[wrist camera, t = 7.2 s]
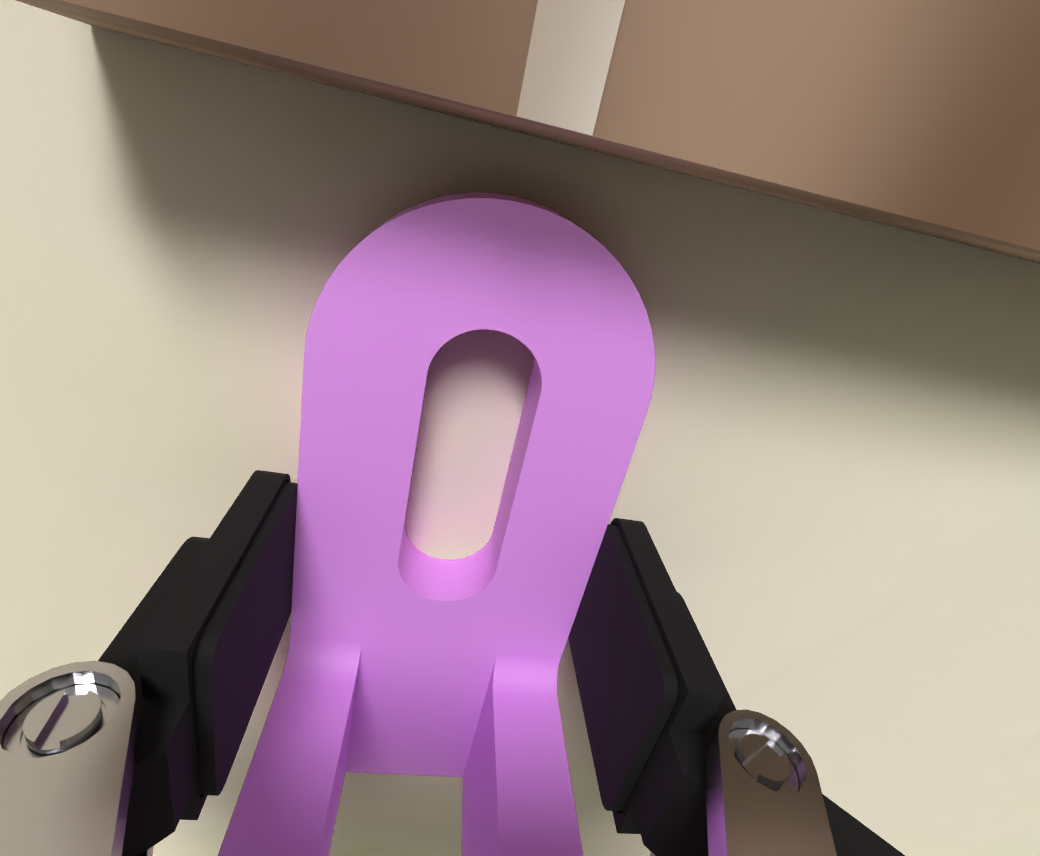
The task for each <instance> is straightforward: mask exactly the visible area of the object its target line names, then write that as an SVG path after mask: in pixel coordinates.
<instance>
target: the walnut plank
mask: <svg viewBox="0 0 1040 856" xmlns="http://www.w3.org/2000/svg"><path fill="white" fill-rule="evenodd" d="M17 1H20V2H23V3H26V4H29V5H32V6H35V7H38V8H41V9H44V10H47V11H50V12H53V13H56V14H59V15H62V16H65V17H68V18H71V19H74V20H77V21H80V22H83V23H86V24H90V25H94V26H98V27H102V28H106V29H110V30H114V31H118V32H122V33H126V34H130V35H134V36H138V37H141V38H145V39H149V40H153V41H157V42H161V43H165V44H169V45H173V46H177V47H181V48H185V49H189V50H193V51H197V52H201V53H205V54H209V55H213V56H217V57H221V58H225V59H229V60H233V61H237V62H241V63H245V64H249V65H253V66H257V67H261V68H265V69H269V70H273V71H277V72H281V73H285V74H289V75H293V76H297V77H301V78H305V79H309V80H313V81H317V82H321V83H325V84H329V85H333V86H337V87H341V88H345V89H349V90H353V91H357V92H361V93H365V94H369V95H373V96H377V97H381V98H385V99H389V100H393V101H396V102H400V103H404V104H408V105H412V106H416V107H420V108H424V109H428V110H432V111H436V112H440V113H444V114H448V115H452V116H456V117H460V118H464V119H468V120H472V121H476V122H480V123H484V124H488V125H492V126H496V127H500V128H504V129H508V130H512V131H516V132H520V133H524V134H528V135H532V136H536V137H540V138H544V139H548V140H552V141H556V142H560V143H564V144H568V145H572V146H576V147H580V148H584V149H588V150H592V151H596V152H600V153H604V154H608V155H612V156H616V157H620V158H624V159H628V160H632V161H636V162H640V163H644V164H648V165H651V166H655V167H659V168H663V169H667V170H671V171H675V172H679V173H683V174H687V175H691V176H695V177H699V178H703V179H707V180H711V181H715V182H719V183H723V184H727V185H731V186H735V187H739V188H743V189H747V190H751V191H755V192H759V193H763V194H767V195H771V196H775V197H779V198H783V199H787V200H791V201H795V202H799V203H803V204H807V205H811V206H815V207H819V208H823V209H827V210H831V211H835V212H839V213H843V214H847V215H851V216H855V217H859V218H863V219H867V220H871V221H875V222H879V223H883V224H887V225H891V226H895V227H899V228H903V229H906V230H910V231H914V232H918V233H922V234H926V235H930V236H934V237H938V238H942V239H946V240H950V241H954V242H958V243H962V244H966V245H970V246H974V247H978V248H982V249H986V250H990V251H994V252H998V253H1002V254H1006V255H1010V256H1014V257H1018V258H1022V259H1026V260H1030V261H1034V262H1038V263H1040V0H17Z"/></svg>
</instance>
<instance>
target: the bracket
mask: <svg viewBox="0 0 1040 856" xmlns="http://www.w3.org/2000/svg"><path fill="white" fill-rule="evenodd" d="M479 329H488V330H496V331H500V332H504V333H507V334H509V335H511V336H513V337H515V338H517V339H518V340H519V341H521V342H522V343H523V344H524V345H526V346H527V347H528V349H529V350H530V351H531V352H532V354H533V355H534V364H533V369H532V373H531V377H530V381H529V385H528V390H527V394H526V398H525V402H524V406H523V410H522V414H521V419H520V423H519V427H518V431H517V435H516V439H515V443H514V448H513V452H512V456H511V460H510V464H509V468H508V472H507V477H506V481H505V485H504V489H503V493H502V497H501V501H500V506H499V510H498V514H497V518H496V522H495V526H494V530H493V534H492V536H491V538H490V540H489V541H488V543H487V544H486V545H485V546H484V547H483V548H482V549H481V550H479V551H478V552H476V553H475V554H473V555H470V556H468V557H465V558H461V559H455V560H444V559H438V558H434V557H431V556H428V555H426V554H424V553H423V552H421V551H420V550H418V549H417V548H416V547H415V546H414V545H413V544H412V543H411V541H410V540H409V538H408V536H407V533H406V529H405V518H406V511H407V505H408V498H409V492H410V485H411V479H412V472H413V466H414V459H415V453H416V446H417V440H418V433H419V427H420V421H421V414H422V408H423V401H424V395H425V388H426V382H427V375H428V369H429V365H430V363H431V361H432V359H433V357H434V355H435V354H436V352H437V351H438V350H439V349H440V348H441V347H442V346H443V345H444V344H445V343H446V342H447V341H449V340H450V339H452V338H453V337H455V336H457V335H459V334H462V333H465V332H468V331H472V330H479ZM654 376H655V348H654V340H653V334H652V328H651V325H650V321H649V318H648V314H647V311H646V308H645V306H644V304H643V301H642V299H641V297H640V294H639V292H638V290H637V289H636V287H635V285H634V283H633V282H632V280H631V278H630V276H629V275H628V274H627V272H626V271H625V270H624V268H623V267H622V266H621V264H620V263H619V262H618V260H617V259H616V258H615V257H614V256H613V255H612V254H611V253H610V252H609V251H608V250H607V249H606V248H605V247H604V246H603V245H602V244H601V243H600V242H598V241H597V240H596V239H595V238H594V237H592V236H591V235H590V234H589V233H587V232H586V231H584V230H583V229H582V228H580V227H579V226H577V225H576V224H574V223H573V222H571V221H570V220H568V219H567V218H565V217H564V216H562V215H561V214H559V213H557V212H555V211H553V210H551V209H549V208H547V207H545V206H543V205H541V204H538V203H535V202H532V201H530V200H527V199H524V198H520V197H515V196H511V195H507V194H499V193H490V192H466V193H458V194H450V195H445V196H441V197H437V198H433V199H430V200H427V201H424V202H422V203H419V204H416V205H414V206H411V207H409V208H407V209H406V210H404V211H402V212H400V213H398V214H396V215H394V216H393V217H392V218H390V219H389V220H387V221H386V222H384V223H383V224H381V225H380V226H379V227H378V228H376V229H375V230H374V231H373V232H372V233H370V234H369V235H368V236H367V237H366V238H365V239H363V240H362V241H361V242H360V243H359V244H358V245H357V246H355V247H354V248H353V249H352V250H351V251H350V252H349V253H348V255H347V256H346V257H345V258H344V259H343V260H342V261H341V262H340V264H339V265H338V266H337V267H336V269H335V270H334V272H333V273H332V275H331V276H330V278H329V279H328V280H327V282H326V284H325V286H324V288H323V290H322V292H321V293H320V295H319V297H318V299H317V302H316V305H315V307H314V310H313V313H312V315H311V318H310V322H309V327H308V331H307V335H306V343H305V352H304V368H303V388H302V408H301V428H300V448H299V468H298V488H297V508H296V528H295V548H294V568H293V588H292V608H291V628H290V642H289V649H288V654H287V659H286V663H285V667H284V670H283V674H282V677H281V680H280V683H279V685H278V688H277V691H276V694H275V697H274V699H273V702H272V705H271V708H270V711H269V713H268V716H267V719H266V722H265V725H264V728H263V730H262V733H261V736H260V739H259V742H258V744H257V747H256V750H255V753H254V756H253V758H252V761H251V764H250V767H249V770H248V772H247V775H246V778H245V781H244V784H243V786H242V789H241V792H240V795H239V798H238V800H237V803H236V806H235V809H234V812H233V815H232V817H231V820H230V823H229V826H228V829H227V831H226V834H225V837H224V840H223V843H222V845H221V848H220V851H219V854H218V856H329V851H330V846H331V841H332V836H333V831H334V826H335V821H336V816H337V811H338V806H339V801H340V796H341V791H342V786H343V781H344V776H345V772H364V773H385V774H405V775H426V776H447V777H463V795H462V856H583V852H582V846H581V840H580V833H579V827H578V821H577V815H576V809H575V802H574V796H573V790H572V784H571V778H570V772H569V765H568V759H567V753H566V747H565V741H564V734H563V728H562V722H561V716H560V710H559V703H558V697H557V674H558V667H559V663H560V659H561V656H562V654H563V651H564V648H565V645H566V642H567V639H568V636H569V634H570V631H571V628H572V625H573V622H574V619H575V616H576V614H577V611H578V608H579V605H580V602H581V599H582V596H583V594H584V591H585V588H586V585H587V582H588V579H589V576H590V574H591V571H592V568H593V565H594V562H595V559H596V556H597V554H598V551H599V548H600V545H601V542H602V539H603V536H604V534H605V531H606V528H607V525H608V522H609V519H610V516H611V514H612V511H613V508H614V505H615V502H616V499H617V496H618V494H619V491H620V488H621V485H622V482H623V479H624V476H625V474H626V471H627V468H628V465H629V462H630V459H631V456H632V454H633V451H634V448H635V445H636V442H637V439H638V436H639V434H640V431H641V428H642V425H643V422H644V419H645V416H646V414H647V410H648V407H649V403H650V400H651V396H652V390H653V384H654Z"/></svg>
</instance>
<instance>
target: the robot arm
mask: <svg viewBox="0 0 1040 856" xmlns="http://www.w3.org/2000/svg"><path fill="white" fill-rule="evenodd" d="M297 488H298V483H291V482H290V476H289V474H282V473H275V472H267V471H260V470H257V471H255V472H254V473H253V475H252V476H251V478H250V479H249V481H248V482H247V484H246V485H245V487H244V488H243V490H242V491H241V493H240V494H239V496H238V497H237V498H236V500H235V501H234V503H233V504H232V506H231V507H230V509H229V510H228V512H227V513H226V515H225V516H224V518H223V519H222V521H221V522H220V524H219V525H218V527H217V528H216V530H215V531H214V533H213V534H212V536H211V537H210V539H209V538H200V537H191V538H189V539H187V540H186V541H185V543H184V544H183V545H182V546H181V547H180V549H179V550H178V552H177V553H176V554H175V556H174V557H173V558H172V560H171V561H170V563H169V564H168V565H167V567H166V568H165V569H164V571H163V572H162V574H161V575H160V576H159V578H158V579H157V580H156V582H155V583H154V585H153V586H152V587H151V589H150V590H149V591H148V593H147V594H146V596H145V597H144V598H143V600H142V601H141V603H140V604H139V605H138V607H137V608H136V609H135V611H134V612H133V614H132V615H131V616H130V618H129V619H128V620H127V622H126V623H125V625H124V626H123V627H122V629H121V630H120V631H119V633H118V634H117V636H116V637H115V638H114V640H113V641H112V642H111V644H110V645H109V647H108V648H107V649H106V651H105V652H104V653H103V655H102V656H101V658H100V659H99V660H98V661H88V662H75V663H71V664H67V665H63V666H59V667H55V668H52V669H50V670H48V671H45V672H43V673H41V674H39V675H36V676H34V677H32V678H30V679H28V680H27V681H25V682H24V683H22V684H21V685H19V686H18V687H16V688H15V689H13V690H12V691H10V692H9V693H8V694H7V695H6V696H5V697H4V698H3V699H2V700H1V701H0V856H152V855H153V846H154V845H155V844H157V843H158V842H160V841H161V840H163V839H164V838H166V837H167V836H168V835H170V834H171V833H173V832H174V831H175V829H176V827H177V825H178V822H179V820H180V819H181V820H198V817H199V815H200V812H201V810H202V807H203V805H204V802H205V800H206V797H207V795H219V794H220V793H221V791H222V789H223V787H224V785H225V783H226V780H227V777H228V775H229V772H230V770H231V767H232V764H233V762H234V759H235V757H236V754H237V751H238V749H239V746H240V744H241V741H242V738H243V736H244V733H245V731H246V728H247V725H248V723H249V720H250V718H251V715H252V712H253V710H254V707H255V705H256V702H257V700H258V697H259V694H260V692H261V689H262V687H263V684H264V681H265V679H266V676H267V674H268V671H269V668H270V666H271V663H272V661H273V658H274V655H275V653H276V650H277V648H278V645H279V642H280V640H281V637H282V635H283V632H284V629H285V627H286V624H287V622H288V619H289V616H290V614H291V608H292V588H293V568H294V548H295V528H296V508H297ZM568 637H569V643H570V648H571V653H572V658H573V663H574V668H575V673H576V678H577V683H578V688H579V692H580V697H581V702H582V707H583V712H584V717H585V722H586V727H587V732H588V737H589V742H590V746H591V751H592V756H593V761H594V766H595V771H596V776H597V781H598V786H599V791H600V796H601V800H602V804H603V806H604V808H605V809H606V810H608V811H613V816H614V821H615V825H616V830H617V833H627V834H641V836H642V840H643V844H644V845H645V846H646V847H647V848H648V849H649V850H650V851H651V854H650V856H905V855H903V854H902V853H901V852H899V851H898V850H897V849H895V848H894V847H893V846H891V845H890V844H889V843H887V842H886V841H885V840H883V839H882V838H881V837H879V836H878V835H877V834H875V833H874V832H873V831H871V830H870V829H869V828H867V827H866V826H865V825H863V824H862V823H861V822H859V821H858V820H857V819H855V818H854V817H853V816H851V815H850V814H849V813H847V812H846V811H845V810H843V809H842V808H840V807H839V806H838V805H836V804H835V803H834V802H832V801H831V800H830V799H828V798H827V797H826V796H824V795H823V794H822V792H821V788H820V783H819V779H818V775H817V772H816V769H815V767H814V764H813V761H812V759H811V757H810V756H809V754H808V753H807V751H806V750H805V748H804V747H803V745H802V744H801V742H800V741H799V740H798V739H797V738H796V737H795V736H794V735H793V734H792V733H791V732H790V731H789V730H788V729H786V728H785V727H784V726H782V725H781V724H780V723H778V722H777V721H775V720H774V719H772V718H770V717H768V716H766V715H764V714H762V713H759V712H754V711H750V710H736V708H735V706H734V704H733V702H732V700H731V698H730V696H729V693H728V691H727V689H726V687H725V685H724V683H723V681H722V679H721V677H720V675H719V672H718V670H717V668H716V666H715V664H714V662H713V660H712V658H711V656H710V654H709V652H708V649H707V647H706V645H705V643H704V641H703V639H702V637H701V635H700V633H699V631H698V629H697V626H696V624H695V622H694V620H693V618H692V616H691V614H690V612H689V610H688V608H687V605H686V603H685V601H684V599H683V598H682V596H681V595H680V594H679V593H678V592H676V590H675V588H674V585H673V583H672V581H671V579H670V577H669V575H668V573H667V571H666V568H665V566H664V564H663V562H662V560H661V558H660V556H659V554H658V551H657V549H656V547H655V545H654V543H653V541H652V539H651V537H650V534H649V532H648V530H647V528H646V526H645V524H644V523H643V522H641V521H634V520H626V519H619V518H615V519H613V521H612V522H611V524H608V525H607V528H606V531H605V534H604V536H603V539H602V542H601V545H600V548H599V551H598V554H597V556H596V559H595V562H594V565H593V568H592V571H591V574H590V576H589V579H588V582H587V585H586V588H585V591H584V594H583V596H582V599H581V602H580V605H579V608H578V611H577V614H576V616H575V619H574V622H573V625H572V628H571V631H570V634H569V636H568Z"/></svg>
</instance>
